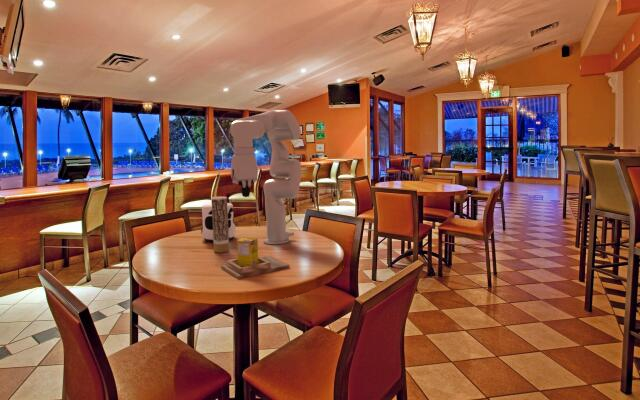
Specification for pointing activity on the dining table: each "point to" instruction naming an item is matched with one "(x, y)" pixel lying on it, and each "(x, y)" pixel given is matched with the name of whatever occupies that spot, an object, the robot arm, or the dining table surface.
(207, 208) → the milk container
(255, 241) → the supplement box
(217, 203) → the wooden log
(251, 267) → the board
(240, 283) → the dining table surface
